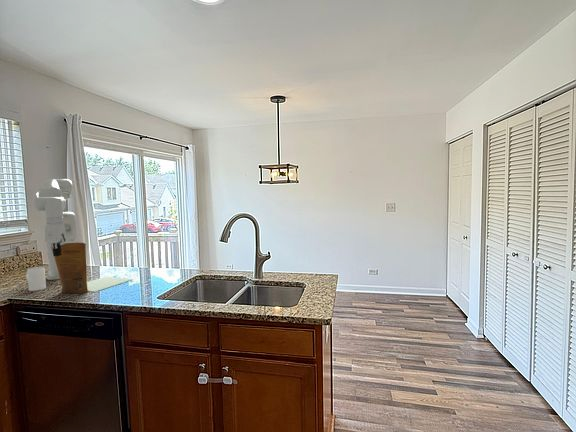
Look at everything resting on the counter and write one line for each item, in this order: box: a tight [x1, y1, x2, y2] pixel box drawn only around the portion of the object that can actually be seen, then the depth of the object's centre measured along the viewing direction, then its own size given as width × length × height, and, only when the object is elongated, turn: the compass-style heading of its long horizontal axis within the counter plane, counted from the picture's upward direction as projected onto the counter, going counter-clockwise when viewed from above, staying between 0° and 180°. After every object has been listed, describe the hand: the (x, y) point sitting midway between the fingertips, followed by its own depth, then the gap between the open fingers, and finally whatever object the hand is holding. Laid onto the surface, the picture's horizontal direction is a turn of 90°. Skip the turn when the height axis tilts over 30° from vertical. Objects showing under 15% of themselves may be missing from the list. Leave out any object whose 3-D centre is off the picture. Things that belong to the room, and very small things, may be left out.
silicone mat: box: [87, 276, 134, 293], centre depth 206 cm, size 22×27×1 cm
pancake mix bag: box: [51, 242, 89, 295], centre depth 189 cm, size 7×19×28 cm, turn 81°
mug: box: [25, 266, 47, 292], centre depth 199 cm, size 12×8×12 cm
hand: (57, 255), depth 181 cm, fingers closed
